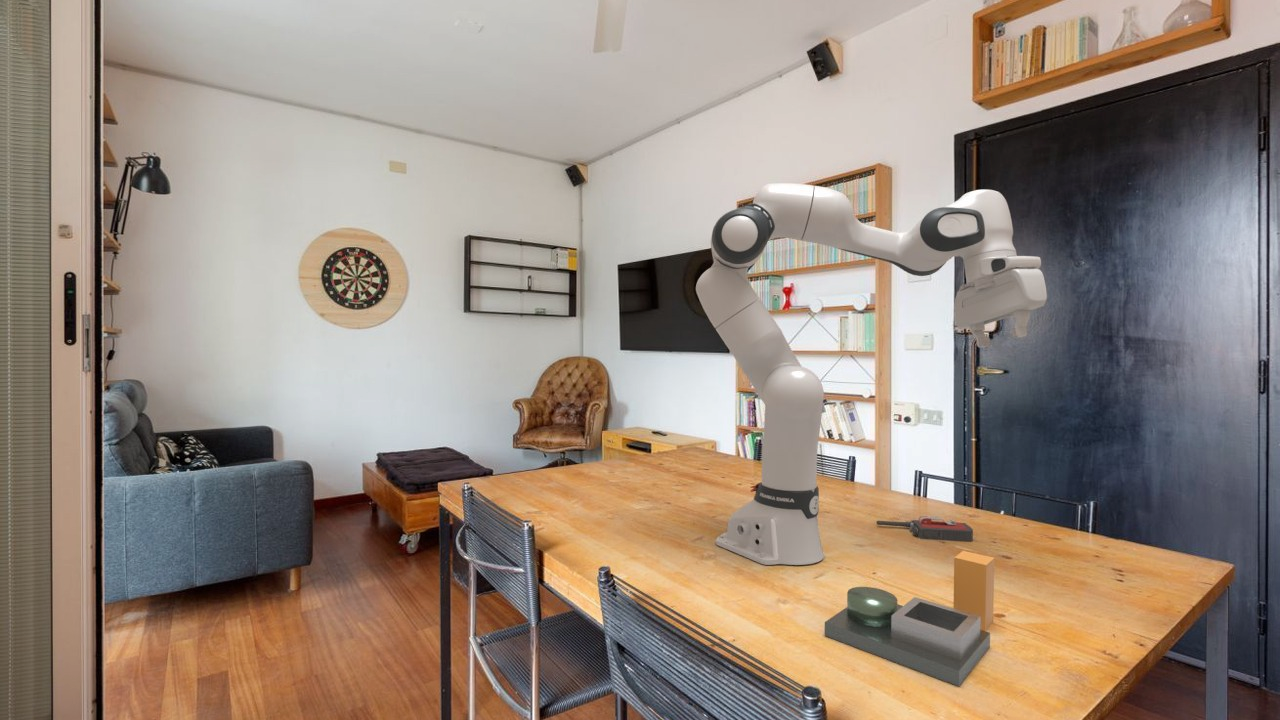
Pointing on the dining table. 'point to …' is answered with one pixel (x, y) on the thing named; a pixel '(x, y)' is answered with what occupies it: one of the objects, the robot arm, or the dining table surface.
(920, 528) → the walkie-talkie
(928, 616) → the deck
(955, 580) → the tall orange prism
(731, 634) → the dining table surface
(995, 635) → the dining table surface
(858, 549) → the dining table surface
